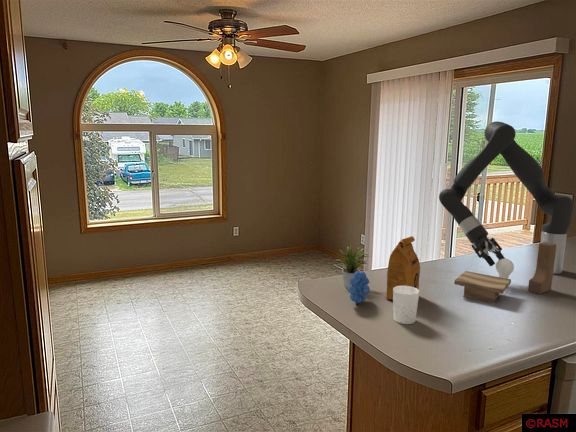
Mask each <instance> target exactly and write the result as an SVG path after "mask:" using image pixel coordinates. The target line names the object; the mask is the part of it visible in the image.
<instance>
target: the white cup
mask: <svg viewBox="0 0 576 432" xmlns="http://www.w3.org/2000/svg"><path fill="white" fill-rule="evenodd" d="M419 297H420V289H419V290H418V289H417V288H414V287H411V286H396V287H394V288H393V300H392V311H393V318H392V319H393V320H394V321H395V322H396V323H399V324H403V325H411V324H415V322H416V321H417V312H418V306H419V299H420V298H419Z"/></svg>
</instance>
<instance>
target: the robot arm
mask: <svg viewBox="0 0 576 432" xmlns="http://www.w3.org/2000/svg"><path fill="white" fill-rule="evenodd" d="M516 133H517V132H516V129H515V128H514V126H512V125H510V124H509V123H505V122H504V121H492V122H490V123H489V124H487V125H486V127H485V129H484V139H485V140H486V142H487V143H486V146H485V147H484V148H483V149H482V150H481V151H480V152H479V153H478V154H477V155H476V156H474V157H473V158H472V159H470V160H469V161H467V163H465V164H464V166H463V167H461V170H459V172H457V174H456V175H455V177H454V179H453V184H452V185H451V187H450V188H444V189H443V190H441V191H440V193H439V194H438V195H439V196H438V199H439V202H440V203H441V205H442V206H443V208H444V209H445V210H446V211H447V212H448V213H449V215H451V216H452V217H453V219H454V221H455V222H456V223H457V224H458V226H459V228H460V230H461V231H462V232H463V234H464V235H465V237H466V238H467V240H468V241H469V242H470V243H471V245H470V246H471V248H472V250H473V251H474V252H475V253H476V255H477V257H478V258H479V259H481V258H482V259H484V260H485V262H486V263H487V264H488V265H489V267H493V266H494V265H496V262H495V261H494V260H493V257H491V255H489V253H492V254H494V255H495V257H496V258H497V260H500V259H504V258H505V259H506V257H505V256H504V254H503V253H502V250H503V248H502V246H501V245H500V244H499V243H498V241H497V240H496V239H495V237H491V238H489V237H488V235H489V232H488V231H487V230H486V228H485V226H483V224H482V222H480V220H479V219H478V218H477V217H476V216H475V215H474V213H473V212H472V210H471V209H470V208H469V207H468V206H466V205H465V204H464V203H463V202H462V200H463V199H464V197H465V196H466V194H467V191H468V190H469V188H470V187H471V186H472V185H473V183H475V181H476V180H477V179H478V177H479V176H480V175H481V174H482V172H484V170H485V169H486V168H487V167H488V166H489V165H490V164H491V163H492V162H493V161H494V160H495V159H496V158H497V157H498V156H499V155H501V156H502V157H503V160H504V161H505V162H506V164H507V165H508V166H509V168H510V169H511V170H512V172H513V174H514V175H515V176H516V177H517V179H518V180H519V181H520V183H521V184H523V185H524V187H525V188H526V189H527V191H528V192H529V193H530V194H531V196H532V197H533V199H534V200H535V202H536V204H537V206H538V207H539V209H540V210H541V211H542V213H544V214H546V215H548V216H551V219H550V222H547V223H543V225H541V226H542V227H541V235H540V243H543V242H548V243H553V244H556V245H557V246H556V254H555V262H554V270H553V275H554V274H557V275H558V274H562V273H563V266H564V260H565V259H564V258H565V251H566V246H567V245H566V243H567V236H568V235H567V234H568V230H569V229H570V227H571V223H572V218H573V212H574V201H573V199H572V198H571V197H570V196H567V195H561V194H557V193H554V192H553V191H552V190H551V189H550V187H548V185H547V184H546V179H545V172H544V170H543V168H542V166H541V165H540V164H539V163H538V161H537V160H536V159H535V157H533V156H532V155H531V154H530V153H528V151H526V150H525V149H524V148H523V147H522V146H521V145H519V144H518V142H516V140H515V138H516Z"/></svg>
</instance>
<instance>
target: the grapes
mask: <svg viewBox="0 0 576 432" xmlns="http://www.w3.org/2000/svg"><path fill="white" fill-rule="evenodd" d="M360 271H361V270H360ZM350 283H351V284H352V285H351V286H349V287H348V288H347V290H348V293H349V299H350V301H352V302H354V303H355V304H357V305H359V304H361V303H362V302H363V301H366V299H367V297H368V296H367V294H368V293H370V291H371V288H370V286H369V283H370V280H369V278H368V277H367V273H366V272H364V271H361V272H359V271H356V272H355V273H354V277H351V278H350Z"/></svg>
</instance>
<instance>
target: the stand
mask: <svg viewBox="0 0 576 432" xmlns="http://www.w3.org/2000/svg"><path fill="white" fill-rule="evenodd" d="M511 283H512V279H511V278H508V279H507V278H501V277H499V276H495V275H489V274H484V273H479V272H474V271H468V270H465V271H463V272H462V273H461V274H460V275H459V276H458V277H457V278H455V279H454V283H453V284H454V285H455V286H462V287H463V297H464V298H465V297H466V298H470V299H474V300H479V301H483V302H488V303H494V302H496V300H497V299H498V297H499V296H500V295H503V294H504V293H505V291H507V288H509V286H510V285H511Z"/></svg>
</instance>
